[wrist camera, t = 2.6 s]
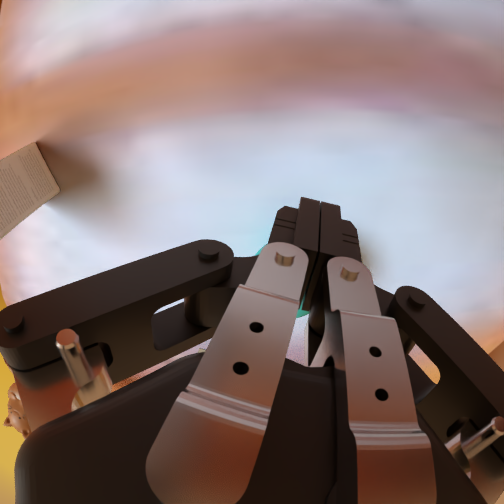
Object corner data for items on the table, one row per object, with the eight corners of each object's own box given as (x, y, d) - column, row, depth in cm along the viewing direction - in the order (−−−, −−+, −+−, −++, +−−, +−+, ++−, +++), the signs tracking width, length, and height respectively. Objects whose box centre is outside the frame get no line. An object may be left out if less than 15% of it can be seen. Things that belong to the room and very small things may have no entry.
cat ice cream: (83, 340, 42) (24, 437, 27) (96, 370, 47) (48, 457, 32) (42, 323, 43) (-17, 407, 28) (57, 352, 48) (7, 431, 33)
